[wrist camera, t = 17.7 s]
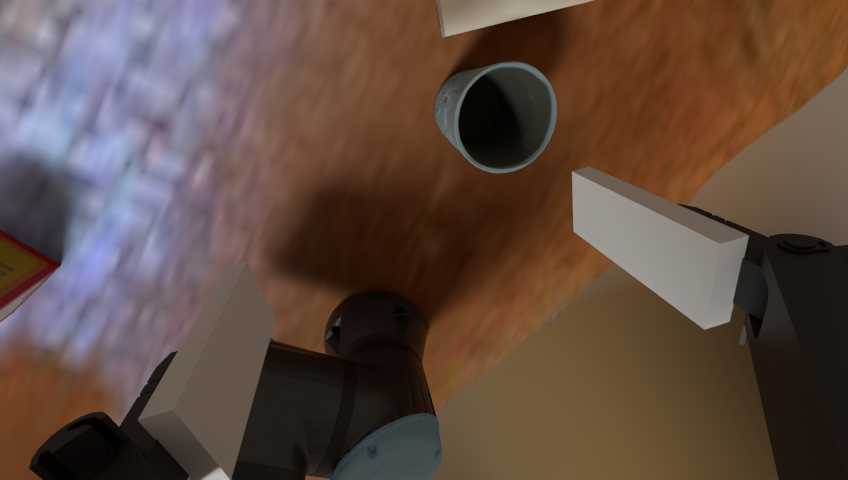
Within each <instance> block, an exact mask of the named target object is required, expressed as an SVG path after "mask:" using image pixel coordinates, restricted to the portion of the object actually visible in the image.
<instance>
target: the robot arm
mask: <svg viewBox="0 0 848 480" xmlns="http://www.w3.org/2000/svg"><path fill="white" fill-rule="evenodd" d="M572 193H573V229H574V232H575V233H576V234H578V235H579V236H580V237H582V238H583V239H584V240H586V241H587V242H588V243H590V244H591V245H592V246H594V247H595V248H596V249H598V250H599V251H600V252H602V253H603V254H604V255H606V256H607V257H608V258H610V259H611V260H612V261H614V262H615V263H616V264H618V265H619V266H621V267H622V268H623V269H624V270H626V271H627V272H628V273H630V274H631V275H632V276H634V277H635V278H636V279H638V280H639V281H640V282H642V283H643V284H644V285H646V286H647V287H649V288H650V289H651V290H653V291H654V292H655V293H656V294H658V295H659V296H660V297H662V298H663V299H665V300H666V301H667V302H669V303H670V304H671V305H673V306H674V307H675V308H677V309H678V310H679V311H681V312H682V313H683V314H684V315H686V316H687V317H689V318H690V319H691V320H693V321H694V322H695V323H697V324H698V325H699V326H701V327H702V328H703V329H708V328H711V327H714V326H717V325H720V324H724V323H727V322H729V321H730V318H731V313H732V309H733V304H735V305H737V306H739V307H740V308H742V309H743V310H745V311H746V315H745V319H744V324H743V328H742V331H741V335H740V340H739V344H744V342H745V339H748V343H749V348H750V352H751V357H752V361H753V365H754V370H755V375H756V379H757V384H758V388H759V393H760V397H761V402H762V406H763V411H764V415H765V420H766V424H767V429H768V434H769V438H770V443H771V447H772V452H773V456H774V461H775V465H776V470H777V474H778V479H779V480H848V245H842V246H834V245H832V244H831V243H829V242H827V241H825V240H822V239H820V238H816V237H812V236H807V235H800V234H778V235H774V236H770V237H766V236H764V235H761V234H759V233H757V232H754V231H752V230H749V229H747V228H745V227H742V226H740V225H737V224H735V223H732V222H730V221H725V220H724V219H723V218H721V217H718V216H716V215H714V216H712V214H711V213H709V212H706V211H704V210H701V209H699V208H696V207H691V206H686V205H682V204H675V203H673V202H671V201H668V200H666V199H664V198H661V197H659V196H657V195H654V194H652V193H650V192H647V191H645V190H643V189H640V188H638V187H636V186H634V185H631V184H629V183H627V182H624V181H622V180H620V179H617V178H615V177H613V176H610V175H608V174H606V173H603V172H601V171H599V170H596V169H594V168H592V167H586V168H583V169H579V170H576V171H572ZM275 319H276V317H275V315H274V313H273V312H272V310H271V308H270V306H269V304H268V302H267V300H266V298H265V296H264V294H263V292H262V290H261V288H260V286H259V285H258V283H257V281H256V279H255V277H254V275H253V273H252V271H251V269H250V267H249V265H248V263H247V262H245V263H242V264H238V265H234V266H231V267H227V268H226V269H225V271H224V273H223V275H222V276H221V278H220V280H219V281H218V283H217V285H216V287H215V288H214V290H213V292H212V293H211V295H210V297H209V299H208V300H207V302H206V304H205V305H204V307H203V309H202V311H201V312H200V314H199V316H198V317H197V319H196V321H195V323H194V324H193V326H192V328H191V329H190V331H189V333H188V335H187V336H186V338H185V340H184V341H183V343H182V345H181V346H180V348H179V350H178V351H176V352H172V353H170V354H169V355H168V356H167V357H166V358H165V359H164V360H163V361H162V362H161V363H160V364H159V365H158V366H157V367H156V369H155V370H154V372H153V374H152V375H151V377H150V378H149V380H148V382H147V383H148V384H147V385H145V386H144V388H143V390H142V391H141V393H140V397H138V398H137V399H136V401H135V402H134V404H133V406H132V407H131V409H130V410H129V412H128V414H127V415H126V417H125V419H124V420H123V422H122V423H121V425H120V427H118V426H117V424H116V423H115V422H114V421H113V420H112V419H111V418H110V417H109V416H108V415H107V414H105V413H104V412H93V413H90V414H87V415H85V416H82V417H80V418H78V419H76V420H74V421H72V422H71V423H69V424H67V425H65V426H64V427H63V428H61V429H60V430H59V431H57V432H56V433H55V434H53V435H52V436H51V437H50V438H49V439H48V440H47V441H46V442H45V443H44V444H43V445H42V446H41V447H40V448H39V449H38V451H37V452H36V454H35V455H34V456H33V458H32V459H31V463H30V467H29V469H31V470H32V471H33V472H34V473H35V474H37V475H38V476H39V477H40V478H42V479H43V480H305V477H306V476H314V477H321V478H328V479H330V480H431V479H432V478H433V476H434V475H435V474H436V472H437V470H438V468H439V465H440V463H441V459H442V445H441V439H440V433H439V422H438V419H437V417H436V414H435V410H434V406H433V402H432V399H431V395H430V391H429V387H428V384H427V380H426V376H425V373H424V369H423V365H422V359H423V353H424V348H425V342H426V329H425V325H424V322H423V318H422V315H421V313H420V311H419V310H418V308H417V307H416V306H415V305H414V304H413V303H412V302H411V301H409V300H408V299H406V298H405V297H403V296H400V295H398V294H394V293H390V292H381V291H377V292H368V293H363V294H360V295H357V296H354V297H352V298H350V299H348V300H347V301H345V302H344V303H342V304H341V305H340V306H339V307H338V308H337V309H336V310H335V311H334V312H333V313H332V315H331V316H330V318H329V320H328V322H327V325H326V329H325V340H324V345H325V352H326V354H323V353H319V352H315V351H311V350H307V349H303V348H299V347H296V346H292V345H288V344H284V343H281V342H277V341H274V339H272V338H271V334H272V330H273V327H274V323H275Z"/></svg>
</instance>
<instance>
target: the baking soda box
mask: <svg viewBox="0 0 848 480" xmlns="http://www.w3.org/2000/svg"><path fill="white" fill-rule="evenodd" d="M60 266H61V265H59V264H58V263H56V262H54V261H53V260H51V259H49V258H48V257H46V256H44V255H42V254H41V253H39V252H37V251H36V250H34V249H32V248H30V247H29V246H27V245H25V244H24V243H22V242H20V241H19V240H17V239H15V238H13V237H12V236H10V235H8V234H7V233H5V232H3V231H1V230H0V322H1V321H3V320H4V319H5V318H7V317H8V316H9V315H11V314H12V313H13V312H14V311H15V310H16V309H17V308H18V307H19V306H20V305H21V304H22V303H23V302H24V301H25V300H26V299H27V298H28V297H29V296H30V295H31V294H32V293H33V292H34V291H35V290H36V289H37V288H38V287H39V286H40V285H41V284H42V283H43V282H44V281H46V280H47V279H48V278H49V277H50V276H51V275H52V274H53V273H54V272H55V271H56V270H57V269H58V268H59V267H60Z"/></svg>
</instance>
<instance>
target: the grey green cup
mask: <svg viewBox="0 0 848 480" xmlns="http://www.w3.org/2000/svg"><path fill="white" fill-rule="evenodd" d="M556 118H557V103H556V97H555V94H554V91H553V88H552V86H551V84H550V82H549V81H548V80H547V78H546V77H545V76H544V75H543V74H542V73H541V72H540V71H539V70H538V69H536V68H535V67H533V66H531V65H529V64H527V63H523V62H517V61H512V62H501V63H497V64H493V65H489V66H485V67H482V68H477V69H473V70H465V71H462V72H459V73H457V74H455V75H453V76H451V77H450V78H449V79H448V80H447V81H446V82H445V83H444V84H443V85H442V87H441V89H440V90H439V92H438V95H437V97H436V101H435V119H436V123H437V125H438V127H439V129H440V131H441V132H442V133H443V135H444V136H445V137H446V138H447V139H448V140H449V141H450V142H451V143H452V144H453V145H454V146H455V147H456V148H457V149H458V150H459V151H460V152H461V153H462V154H463V155H464V156H465V158H466V159H467V160H468V161H469V162H470V163H472V164H473V165H474V166H476V167H478V168H480V169H481V170H484V171H487V172H491V173H507V172H512V171H516V170H518V169H521V168H523V167H525V166H526V165H528V164H529V163H531V162H532V161H533V160H535V159H536V158H537V157H538V156H539V155H540V154H541V153H542V151H543V150H544V149H545V147H546V146H547V144H548V142H549V141H550V138H551V136H552V134H553V131H554V128H555V124H556Z"/></svg>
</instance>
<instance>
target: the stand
mask: <svg viewBox="0 0 848 480" xmlns="http://www.w3.org/2000/svg"><path fill="white" fill-rule="evenodd" d="M589 1H593V0H436V3H437V13H438V19H439V25H440V28H441V33H442V37H446V36H451V35H455V34H459V33H463V32H467V31H471V30H475V29H479V28H483V27H487V26H491V25H495V24H499V23H504V22H508V21H512V20H516V19H520V18H524V17H528V16H532V15H536V14H540V13H544V12H548V11H553V10H557V9H561V8H565V7H569V6H573V5H577V4H581V3H585V2H589Z"/></svg>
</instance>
